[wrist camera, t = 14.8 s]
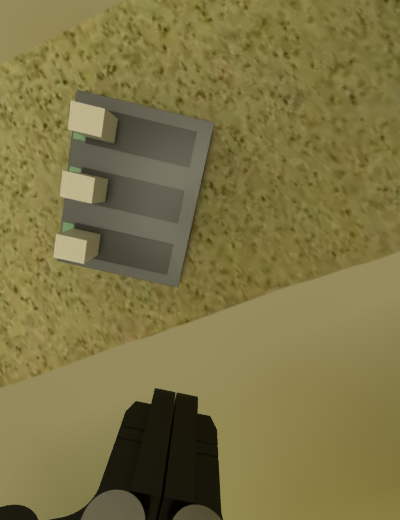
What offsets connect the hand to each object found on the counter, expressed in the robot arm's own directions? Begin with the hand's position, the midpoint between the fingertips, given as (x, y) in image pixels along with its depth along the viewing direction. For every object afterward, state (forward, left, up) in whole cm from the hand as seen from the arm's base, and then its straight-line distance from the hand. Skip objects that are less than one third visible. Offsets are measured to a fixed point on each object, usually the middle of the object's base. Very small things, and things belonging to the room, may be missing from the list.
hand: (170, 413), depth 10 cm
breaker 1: (+12, -11, -24) cm, 29 cm away
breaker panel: (+8, -5, -27) cm, 29 cm away
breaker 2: (+12, +1, -24) cm, 27 cm away
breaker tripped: (+12, -5, -24) cm, 27 cm away
